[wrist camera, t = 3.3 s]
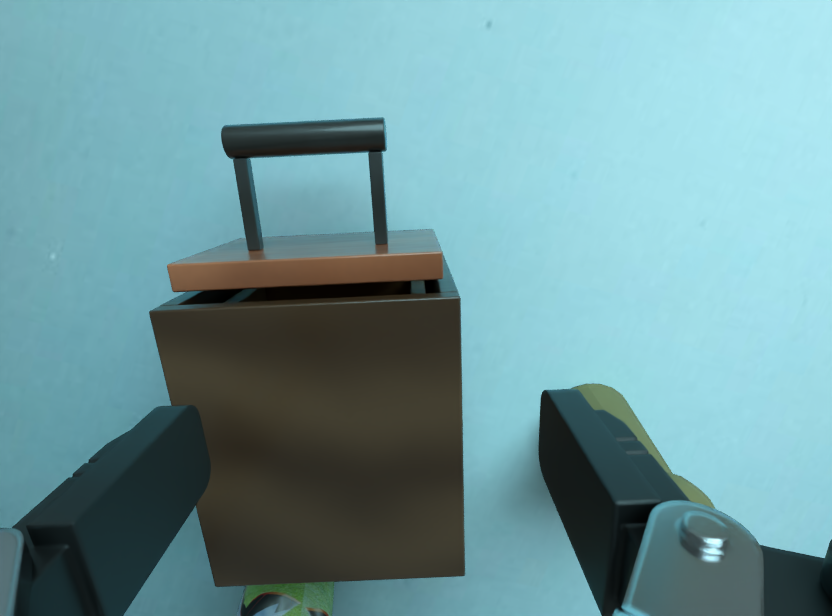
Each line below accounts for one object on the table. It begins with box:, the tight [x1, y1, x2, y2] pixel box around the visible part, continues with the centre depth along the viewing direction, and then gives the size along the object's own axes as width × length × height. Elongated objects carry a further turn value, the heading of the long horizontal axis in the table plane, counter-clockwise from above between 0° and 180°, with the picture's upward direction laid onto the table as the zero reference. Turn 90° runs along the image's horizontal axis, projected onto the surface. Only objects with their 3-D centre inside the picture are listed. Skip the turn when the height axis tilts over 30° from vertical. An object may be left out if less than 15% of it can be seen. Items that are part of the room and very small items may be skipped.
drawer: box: [167, 117, 444, 303], centre depth 22 cm, size 19×11×8 cm, turn 3°
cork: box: [571, 384, 715, 509], centre depth 25 cm, size 6×6×11 cm
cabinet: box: [149, 255, 465, 587], centre depth 24 cm, size 15×13×10 cm
